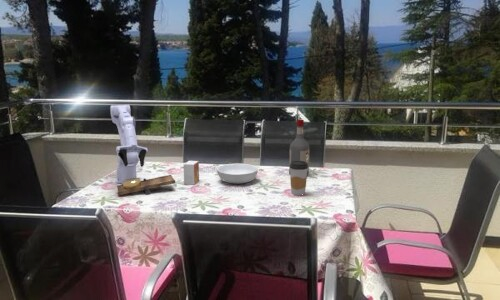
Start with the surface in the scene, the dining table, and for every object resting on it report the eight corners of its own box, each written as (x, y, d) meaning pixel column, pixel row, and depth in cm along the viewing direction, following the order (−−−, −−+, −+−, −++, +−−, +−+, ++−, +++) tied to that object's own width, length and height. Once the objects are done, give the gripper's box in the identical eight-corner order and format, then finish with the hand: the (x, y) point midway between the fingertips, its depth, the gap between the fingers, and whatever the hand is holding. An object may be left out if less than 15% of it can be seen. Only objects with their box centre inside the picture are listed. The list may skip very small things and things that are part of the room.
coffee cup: (308, 192, 203) (309, 161, 200) (305, 197, 195) (305, 165, 192) (291, 190, 206) (292, 159, 202) (287, 195, 198) (287, 163, 195)
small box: (194, 185, 214) (193, 164, 212) (183, 184, 215) (183, 164, 213) (199, 180, 222) (199, 160, 220) (189, 180, 223) (188, 160, 221)
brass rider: (124, 190, 197) (123, 184, 196) (123, 185, 205) (122, 180, 204) (142, 187, 200) (141, 180, 199) (140, 182, 207) (139, 176, 206)
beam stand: (145, 194, 199) (145, 185, 198) (142, 187, 210) (142, 178, 209) (150, 194, 200) (149, 185, 199) (147, 187, 211) (146, 178, 210)
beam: (118, 195, 196) (118, 191, 195) (117, 188, 205) (116, 185, 205) (175, 183, 204) (174, 179, 203) (171, 177, 213) (171, 174, 213)
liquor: (287, 175, 230) (288, 120, 224) (295, 172, 238) (296, 118, 232) (303, 178, 226) (304, 121, 219) (310, 174, 233) (311, 119, 227)
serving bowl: (210, 184, 215) (209, 171, 214) (227, 174, 234) (227, 161, 233) (248, 189, 208) (248, 175, 206) (263, 178, 227) (263, 165, 225)
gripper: (118, 134, 195) (122, 161, 190) (148, 136, 204) (152, 162, 199) (113, 142, 200) (116, 168, 195) (142, 143, 209) (146, 168, 204)
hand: (134, 165), depth 197 cm, fingers open, 7 cm apart
